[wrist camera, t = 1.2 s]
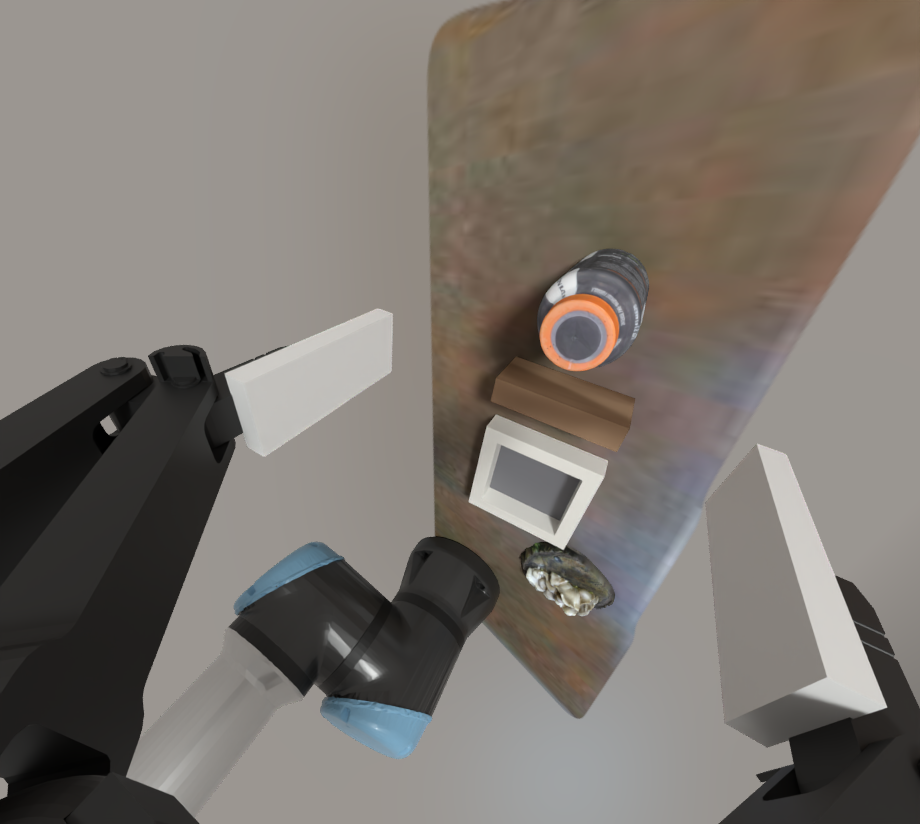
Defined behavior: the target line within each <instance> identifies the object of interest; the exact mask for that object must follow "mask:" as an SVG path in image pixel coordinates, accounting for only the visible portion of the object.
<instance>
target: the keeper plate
mask: <svg viewBox="0 0 920 824" xmlns="http://www.w3.org/2000/svg"><path fill="white" fill-rule="evenodd" d="M607 464H608V461H607V460H605V459H603V458H600V457H598V456H595V455H593V454H591V453H588V452H586V451H583V450H581V449H578V448H576V447H574V446H571V445H569V444H566V443H564V442H561V441H559V440H557V439H554V438H552V437H549V436H547V435H545V434H542V433H540V432H537V431H535V430H532V429H530V428H528V427H525V426H523V425H520V424H518V423H515V422H513V421H511V420H508V419H506V418H503V417H501V416H499V415H495V416H494V418H493V419H492V420H491V421H490V423H489V424H488V425H487V427H486V431H485V436H484V440H483V444H482V448H481V452H480V456H479V461H478V465H477V469H476V473H475V477H474V481H473V486H472V490H471V494H470V498H469V502H470V503H472V504H474V505H476V506H478V507H480V508H482V509H484V510H486V511H488V512H489V513H491V514H493V515H495V516H497V517H499V518H501V519H503V520H505V521H507V522H509V523H511V524H513V525H515V526H517V527H519V528H521V529H523V530H525V531H527V532H529V533H531V534H533V535H535V536H537V537H539V538H541V539H543V540H545V541H547V542H549V543H551V544H553V545H555V546H557V547H559V548H561V549H563V550H564V548H565V546H566V545H567V543H568V541H569V539H570V537H571V536H572V534H573V532H574V530H575V529H576V527H577V525H578V523H579V521H580V520H581V518H582V516H583V514H584V512H585V511H586V509H587V507H588V505H589V504H590V502H591V500H592V498H593V496H594V495H595V493H596V491H597V489H598V487H599V486H600V484H601V482H602V480H603V478H604V477H605V472H606V468H607Z"/></svg>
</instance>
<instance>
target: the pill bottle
mask: <svg viewBox="0 0 920 824" xmlns="http://www.w3.org/2000/svg"><path fill="white" fill-rule="evenodd" d="M648 290H649V280H648V276H647V272H646V270H645V268H644V266H643V265H642V263H641V262H640V261H639V260H638V259H637V258H636V257H635V256H634V255H632V254H631V253H627V252H625V251H623V250H619V249H603V250H599V251H596V252H594V253H591V254H590V255H588V256H586V257H585V258H583V259H582V260H581V261H580V262H579V263H577V264H576V265H575V266H574V267H573V268H571V269H570V270H569V271H568V272H567V273H566V274H564V275H563V276H562V277H561V278H560V279H559V280H558V281H557V282H555V283H554V284H553V285H552V286H551V287H550V289H549V290H548V291H547V292H546V294H545V295H544V297H543V299H542V301H541V304H540V306H539V310H538V316H537V326H538V332H539V336H540V343H541V347H542V349H543V351H544V353H545V355H546V356H547V357H548V359H549V360H550V361H552V362H553V363H554V364H555V365H557V366H559V367H561V368H563V369H566V370H570V371H585V370H589V369H592V368H596V367H600V366H604V365H607V364H609V363H611V362H613V361H615V360H616V359H618V358H619V357H620V356H622V355H623V354H624V353H625V352H626V351H627V350H628V349H629V348H630V346H631V345H632V343H633V342H634V340H635V338H636V336H637V334H638V331H639V328H640V325H641V322H642V319H643V314H644V309H645V305H646V300H647V296H648Z"/></svg>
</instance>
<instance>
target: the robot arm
mask: <svg viewBox="0 0 920 824" xmlns="http://www.w3.org/2000/svg"><path fill="white" fill-rule="evenodd" d="M392 331H393V314H392V313H389V312H387V311H384V310H381V309H375V310H373V311H370V312H368V313H365V314H363V315H361V316H358V317H356V318H354V319H351V320H349V321H347V322H344V323H342V324H340V325H337V326H335V327H333V328H330V329H328V330H325V331H323V332H321V333H318V334H316V335H314V336H311V337H309V338H307V339H304V340H302V341H300V342H297V343H295V344H293V345H290V346H285V347H280V348H277V349H275V350H272V351H270V352H268V353H266V355H261V356H258V357H256V358H255V360H254V359H251V360H249V361H246V362H244V363H242V364H239V365H237V366H234V367H232V368H230V369H227V370H225V371H223V372H220V373H218V374H215V375H213V373H212V370H211V367H210V364H209V361H208V358H207V355H206V352H205V351H204V350H203V349H202V348H200V347H197V346H191V345H176V346H170V347H165V348H162V349H159V350H157V351H154V352H153V353H151V354H150V355H149V356H148V357H149V359H150V362H151V364H152V366H153V368H154V371H155V373H156V375H157V376H153V375H151V374H150V372H149V370H148V367H147V365H146V363H145V362H144V361H142V360H141V359H137V358H125V357H119V358H112V359H109V360H106V361H103V362H100V363H98V364H95V365H93V366H91V367H90V368H88V369H86V370H85V371H83V372H81V373H79V374H78V375H76V376H75V377H73V378H71V379H69V380H68V381H66V382H64V383H63V384H61V385H59V386H57V387H56V388H54V389H52V390H51V391H49V392H47V393H45V394H44V395H42V396H40V397H39V398H37V399H35V400H34V401H32V402H30V403H29V404H27V405H25V406H23V407H22V408H20V409H18V410H17V411H15V412H13V413H12V414H10V415H8V416H7V417H5V418H3V419H2V420H0V777H1V778H4V779H5V781H6V782H7V783H8V794H7V797H5V798H3V799H1V800H0V824H199V823H198V822H197V821H196V819H195V817H196V815H197V814H198V813H199V812H200V810H201V809H202V808H203V806H204V805H205V804H206V802H207V801H208V800H209V799H210V797H211V796H212V795H213V793H214V792H215V791H216V789H217V788H218V787H219V785H220V784H221V783H222V782H223V780H224V779H225V777H226V776H227V775H228V774H229V772H230V771H231V770H232V768H233V767H234V766H235V764H236V763H237V762H238V761H239V759H240V758H241V757H242V755H243V754H244V753H245V751H246V750H247V749H248V747H249V746H250V745H251V743H252V742H253V741H254V740H255V738H256V737H257V736H258V734H259V733H260V732H261V730H262V729H263V728H264V726H265V725H266V724H267V722H268V721H269V720H270V719H271V717H272V716H273V715H274V713H275V712H276V711H277V709H279V708H281V707H282V706H284V705H288V704H291V703H294V702H298V701H301V700H302V699H303V698H304V696H305V695H306V694H307V692H308V691H309V689H310V688H311V687H312V685H313V684H315V685H316V686H317V687H319V688H320V689H321V690H322V691H323V692H324V693H325V694H326V696H327V697H325V698H324V699H323V701H322V706H321V708H320V712H321V714H322V716H323V717H324V718H326V719H327V720H328V721H330V723H331V724H333V725H334V726H335V727H337V728H338V729H339V730H341V731H342V732H344V733H345V734H347V735H349V736H350V737H352V738H353V739H355V740H357V741H358V742H360V743H362V744H364V745H365V746H367V747H369V748H371V749H373V750H375V751H377V752H379V753H381V754H384V755H386V756H388V757H391V758H396V759H402V758H405V757H407V756H409V755H410V754H411V753H412V752H413V751H414V749H415V747H416V745H417V744H418V742H419V740H420V738H421V736H422V734H423V732H424V730H425V728H426V726H427V724H428V723H429V722H430V721H431V720H432V714H433V712H434V710H435V708H436V705H437V703H438V701H439V699H440V697H441V694H442V692H443V690H444V687H445V685H446V683H447V681H448V679H449V676H450V674H451V672H452V670H453V667H454V665H455V663H456V661H457V659H458V656H459V654H460V652H461V649H462V647H463V645H464V643H465V641H466V639H467V637H469V636H470V634H471V633H472V632H473V631H474V630H475V629H476V628H477V627H478V626H479V625H480V624H481V623H482V622H483V620H484V619H485V618H486V617H487V616H488V615H489V614H490V613H491V612H492V610H493V608H494V606H495V604H496V602H497V599H498V597H499V593H500V589H499V584H498V581H497V579H496V577H495V575H494V574H493V572H492V571H491V569H490V568H489V567H488V566H487V564H486V563H485V562H484V561H483V560H482V559H481V558H479V557H478V556H477V555H476V554H475V553H473V552H472V551H471V550H469V549H467V548H466V547H464V546H462V545H461V544H459V543H456V542H454V541H452V540H449V539H445V538H441V537H427V538H424V539H422V540H421V541H420V542H419V543H418V544H417V546H416V547H415V549H414V550H413V551H412V553H411V555H410V557H409V561H408V563H407V567H406V570H405V573H404V576H403V580H402V583H401V586H400V589H399V591H398V593H397V595H396V596H395V598H394V599H393V601H392V602H389V601H388V600H387V599H386V598H385V597H384V596H383V595H382V594H381V593H380V592H379V591H378V590H376V589H375V588H374V587H373V586H372V585H371V584H370V583H369V582H368V581H367V580H365V579H364V578H363V577H362V576H361V575H360V574H359V573H358V572H357V571H355V570H354V569H353V568H352V567H351V566H350V565H349V564H348V563H347V562H346V561H345V560H344V557H342V556H339V555H338V554H336V553H335V552H334V551H333V550H332V549H330V548H329V547H328V546H327V545H325V544H324V543H321V542H311V543H308V544H306V545H304V546H302V547H300V548H299V549H297V550H296V551H294V552H293V553H291V554H290V555H288V556H287V557H286V558H284V559H283V560H281V561H280V562H279V563H277V564H276V565H275V566H274V567H272V568H271V569H270V570H269V571H267V572H266V573H265V574H264V575H263V576H261V577H260V578H259V579H258V580H257V581H256V582H255V583H254V585H252V586H251V587H250V588H249V589H248V590H246V591H245V592H244V593H243V594H242V595H241V596H240V597H239V598H238V599H237V601H236V602H235V604H234V610H235V614H236V615H239V617H238V618H237V619H236V620H235V621H234V622H233V623H232V624H231V625H230V626H229V627H228V628H227V629H226V630H225V635H224V641H223V647H222V651H221V653H220V655H219V656H218V657H217V659H216V660H215V661H214V662H213V663H212V664H211V665H210V666H209V667H208V668H207V669H206V670H205V671H204V672H203V673H202V674H201V675H200V676H199V677H198V679H196V681H194V682H193V684H192V685H191V686H190V687H189V688H188V689H187V690H186V691H185V692H184V693H183V694H182V695H181V696H180V697H179V698H178V699H177V700H176V701H175V702H174V703H173V704H172V705H171V706H170V708H168V710H167V711H166V712H165V713H164V714H163V715H162V716H161V717H160V718H159V719H158V720H157V721H156V722H155V723H154V724H153V725H152V726H151V727H150V728H149V729H148V730H147V731H146V732H145V734H144V735H143V736H142V737H141V738H140V734H141V731H142V726H143V718H144V710H143V691H144V687H145V683H146V680H147V678H148V675H149V672H150V670H151V667H152V665H153V662H154V659H155V657H156V654H157V651H158V649H159V646H160V644H161V641H162V638H163V636H164V633H165V630H166V628H167V625H168V623H169V620H170V617H171V614H172V612H173V610H174V607H175V604H176V601H177V599H178V596H179V594H180V591H181V588H182V586H183V583H184V581H185V578H186V575H187V573H188V570H189V568H190V565H191V562H192V560H193V557H194V554H195V552H196V549H197V546H198V544H199V541H200V538H201V536H202V533H203V531H204V528H205V525H206V523H207V520H208V518H209V515H210V512H211V510H212V507H213V505H214V502H215V499H216V497H217V494H218V492H219V489H220V486H221V484H222V481H223V478H224V476H225V473H226V471H227V468H228V465H229V463H230V460H231V458H232V455H233V452H234V449H235V439H234V438H235V437H236V436H238V435H240V434H242V433H243V435H244V439H245V442H246V445H247V447H248V448H250V449H251V450H253V451H255V452H256V453H258V454H260V455H262V456H263V457H265V456H266V455H268V454H269V453H271V452H272V451H274V450H275V449H277V448H278V447H280V446H281V445H283V444H284V443H286V442H287V441H289V440H290V439H292V438H293V437H295V436H296V435H298V434H299V433H301V432H302V431H303V430H305V429H307V428H308V427H310V426H311V425H313V424H314V423H316V422H317V421H319V420H320V419H322V418H323V417H325V416H326V415H328V414H329V413H331V412H332V411H334V410H335V409H337V408H338V407H340V406H341V405H343V404H344V403H346V402H347V401H349V400H350V399H351V398H353V397H355V396H356V395H358V394H359V393H361V392H362V391H364V390H365V389H367V388H368V387H370V386H371V385H373V384H374V383H376V382H377V381H379V380H380V379H382V378H383V377H385V376H386V375H388V374H389V373H391V372H392V334H393V333H392ZM108 415H109V416H110V418H111V420H112V421H113V423H114V425H115V426H116V428H117V430H116V431H115V432H114V433H112V434H110V435H108V434H107V433H106V432H105V430H104V428H103V427H102V426H101V424H100V421H102V420H103V419H104V418H106V417H107V416H108ZM705 504H706V515H707V526H708V538H709V550H710V561H711V573H712V584H713V596H714V607H715V618H716V630H717V641H718V653H719V664H720V676H721V688H722V699H723V710H724V722H725V723H726V724H727V725H729V726H731V727H733V728H734V729H736V730H738V731H739V732H741V733H743V734H745V735H746V736H748V737H750V738H752V739H753V740H755V741H757V742H759V743H760V744H762V745H764V746H766V747H770V746H773V745H776V744H779V743H782V742H785V741H788V740H789V742H790V747H791V752H792V757H793V762H794V764H793V765H789V766H785V767H782V768H778V769H774V770H770V771H766V772H763V773H760V774H757V775H756V776H757V777H758V779H759V780H760V781H761V782H765V781H766V782H765V783H764V784H763V785H762V786H761V787H760V788H758V789H757V790H756V791H755V792H754V793H753V794H752V795H751V796H749V797H748V798H747V799H746V800H745V801H744V802H743V803H741V805H739V806H738V807H737V808H736V809H735V810H734V811H732V812H731V813H730V814H729V815H728V816H727V817H726V818H725V819H724V820H722V821H721V822H720V823H719V824H920V708H919V706H918V704H917V702H916V699H915V697H914V695H913V693H912V691H911V689H910V687H909V684H908V682H907V680H906V678H905V676H904V673H903V671H902V669H901V667H900V665H899V662H898V661H897V660H896V659H894V655H895V654H894V652H893V649H892V647H891V645H890V643H889V641H888V639H887V638H885V637H884V634H885V632H884V630H883V628H882V625H881V623H880V621H879V619H878V617H877V615H876V612H875V610H874V608H873V607H872V606H871V605H870V603H869V602H868V601H867V600H866V598H865V597H864V596H863V595H862V594H861V592H860V591H859V590H858V589H857V587H856V586H855V585H854V584H853V583H852V582H849V581H847V580H844V579H842V578H840V577H838V576H835V575H834V572H833V570H832V567H831V565H830V562H829V560H828V558H827V555H826V552H825V550H824V548H823V545H822V542H821V540H820V537H819V535H818V532H817V530H816V527H815V525H814V522H813V520H812V517H811V515H810V512H809V510H808V507H807V505H806V502H805V500H804V497H803V495H802V492H801V490H800V487H799V485H798V482H797V480H796V477H795V475H794V472H793V470H792V467H791V465H790V462H789V460H788V457H787V455H786V454H785V453H782V452H779V451H776V450H773V449H770V448H768V447H765V446H762V445H759V444H756V445H755V446H754V447H753V448H752V450H751V451H750V452H749V453H748V454H747V455H746V456H745V458H744V459H743V460H742V461H741V462H740V463H739V465H738V466H737V467H736V468H735V469H734V470H733V471H732V473H731V474H730V475H729V476H728V477H727V478H726V479H725V481H724V482H723V483H722V484H721V485H720V486H719V487H718V489H717V490H716V491H715V492H714V493H713V494H712V496H711V497H710V498H709V499H708V500H707V501H706V502H705ZM139 738H140V739H139Z"/></svg>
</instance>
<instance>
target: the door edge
mask: <svg viewBox="0 0 920 824" xmlns="http://www.w3.org/2000/svg"><path fill="white" fill-rule="evenodd" d="M491 402H494V403H496V404H499V405H501V406H504V407H506V408H509V409H511V410H514V411H516V412H518V413H521V414H523V415H526V416H528V417H531V418H533V419H536V420H538V421H541V422H543V423H546V424H548V425H551V426H553V427H556V428H558V429H561V430H563V431H566V432H568V433H571V434H573V435H576V436H578V437H580V438H583V439H585V440H588V441H590V442H593V443H595V444H598V445H600V446H603V447H605V448H608V449H610V450H613V451H615V452H617V451H618V449H619V447H620V445H621V443H622V442H623V440H624V438H625V436H626V434H627V433H628V431H629V429H630V424H631V418H632V413H633V407H634V402H635V398H632V397H629V396H626V395H623V394H621V393H618V392H615V391H612V390H609V389H606V388H604V387H601V386H598V385H595V384H592V383H590V382H587V381H584V380H581V379H578V378H575V377H573V376H570V375H567V374H564V373H561V372H558V371H556V370H553V369H550V368H547V367H544V366H542V365H539V364H536V363H533V362H530V361H527V360H525V359H522V358H519V357H515V358H514V359H513V360H512V361H511V362H510V363H509V365H508V366H507V367H506V368H505V369H504V370H503V371H502V372H501V373H500V374H499V375H498V377H497V378H496V380H495V385H494V389H493V393H492V397H491Z"/></svg>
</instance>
